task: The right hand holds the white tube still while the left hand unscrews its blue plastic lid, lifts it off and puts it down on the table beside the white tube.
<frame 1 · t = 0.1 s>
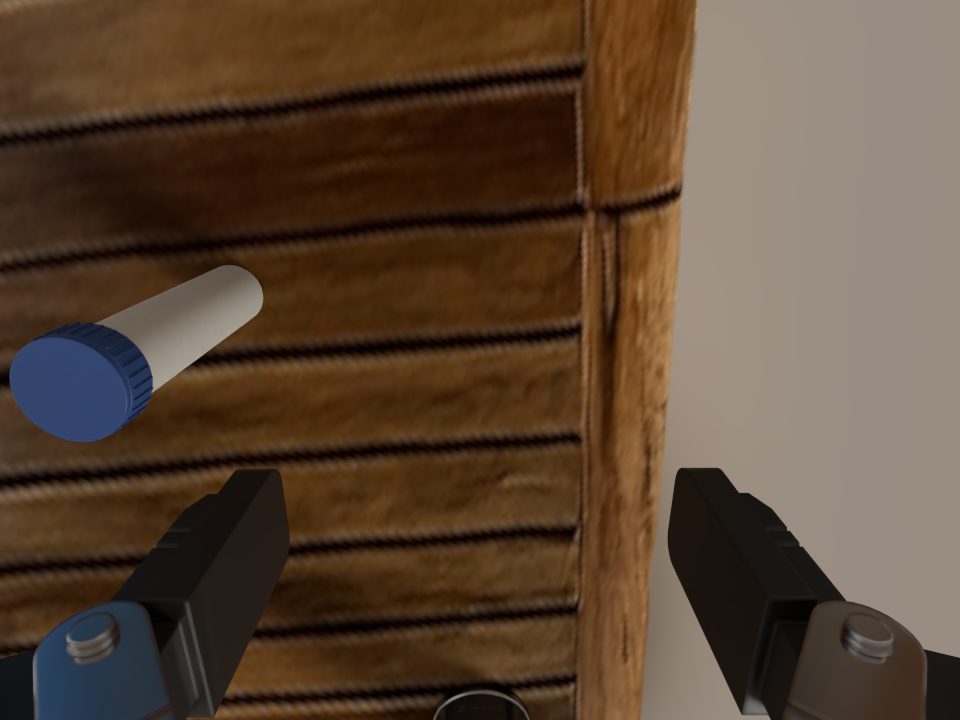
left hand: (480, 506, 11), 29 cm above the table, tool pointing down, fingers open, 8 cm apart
lid: (74, 388, 24), point 17 cm above the table, screwed on, not yet turned
white tube: (234, 293, 40), on the table
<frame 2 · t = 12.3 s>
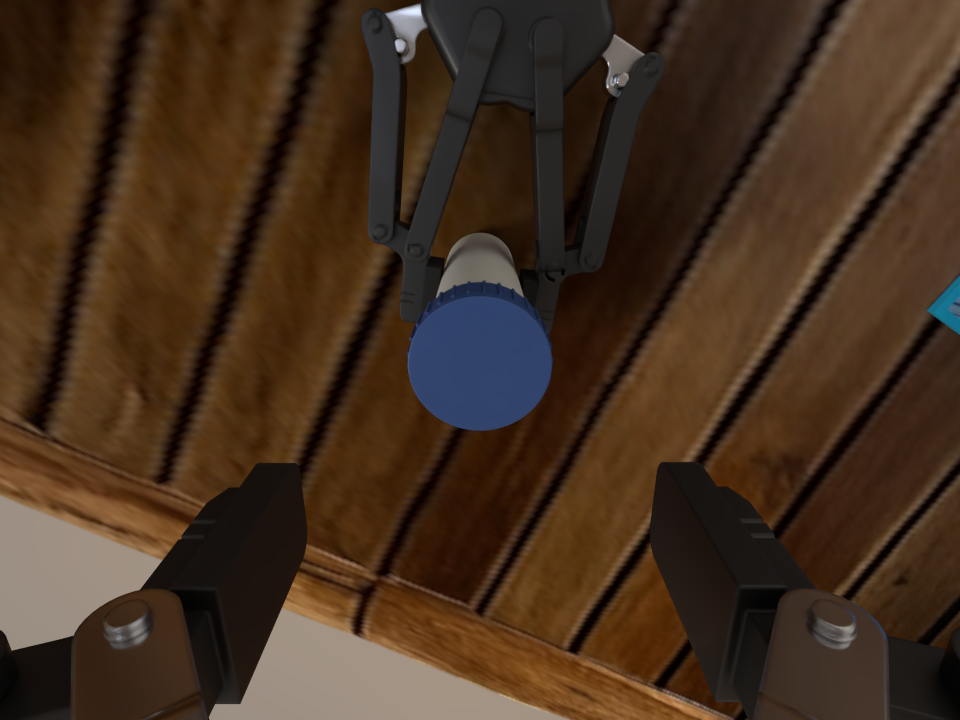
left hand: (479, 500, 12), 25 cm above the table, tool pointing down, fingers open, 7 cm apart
right hand: (466, 383, 31), fingers closed on white tube, 4 cm apart
lid: (480, 362, 19), point 17 cm above the table, screwed on, not yet turned
white tube: (480, 266, 35), on the table, touching right hand
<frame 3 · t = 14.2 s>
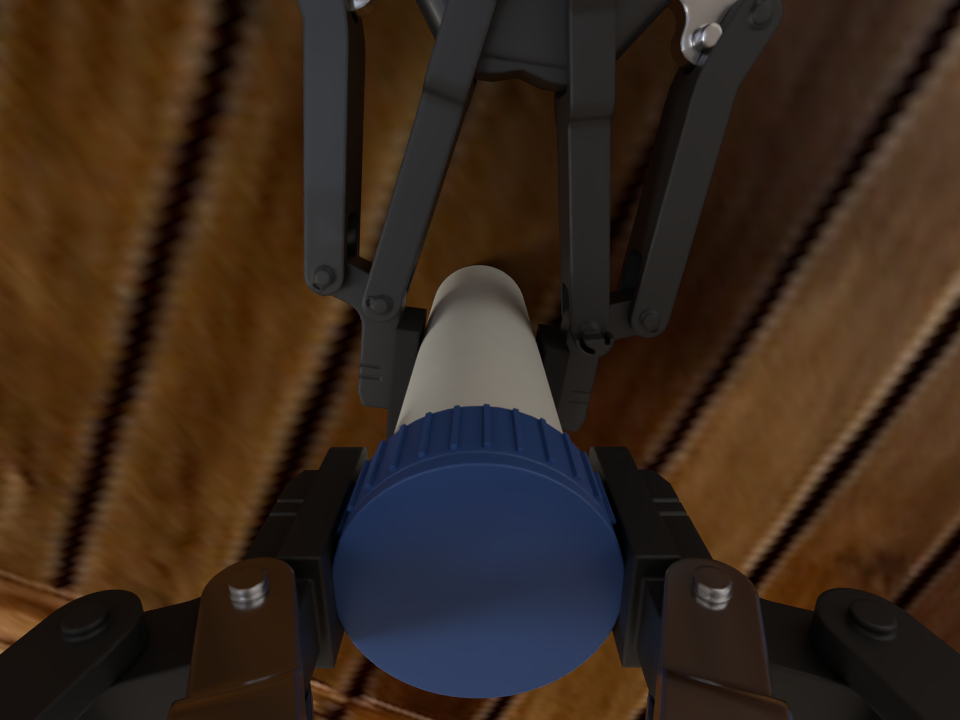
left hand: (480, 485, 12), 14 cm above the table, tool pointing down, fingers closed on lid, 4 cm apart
lid: (478, 577, 10), point 17 cm above the table, screwed on, not yet turned, touching left hand
white tube: (478, 310, 25), on the table, touching right hand
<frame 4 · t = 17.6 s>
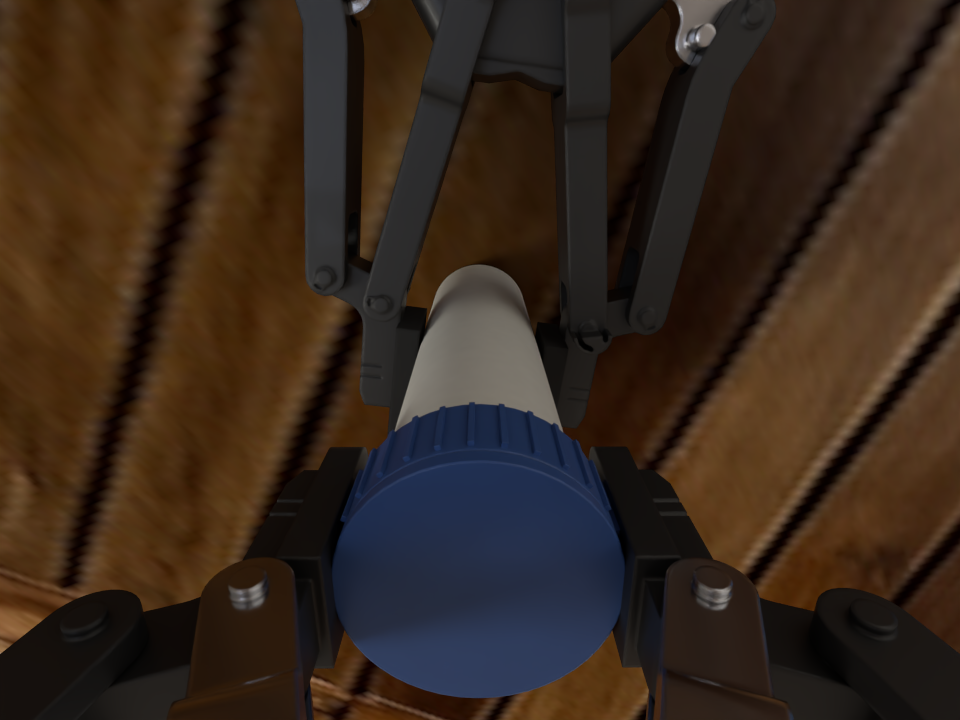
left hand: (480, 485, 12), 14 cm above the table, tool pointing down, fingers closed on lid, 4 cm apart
lid: (478, 575, 10), point 17 cm above the table, turned 68° so far, risen 0.2 cm, still on its thread, touching left hand
white tube: (478, 309, 25), on the table, touching right hand
when the left hand's fingers open (0 cm above the table, at t = 24.2 s): lid drops 1 cm, point 2 cm above the table.
when the right hand's fingers open (6 cm above the table, at t = 25.0 s): white tube stays where it is, on the table.
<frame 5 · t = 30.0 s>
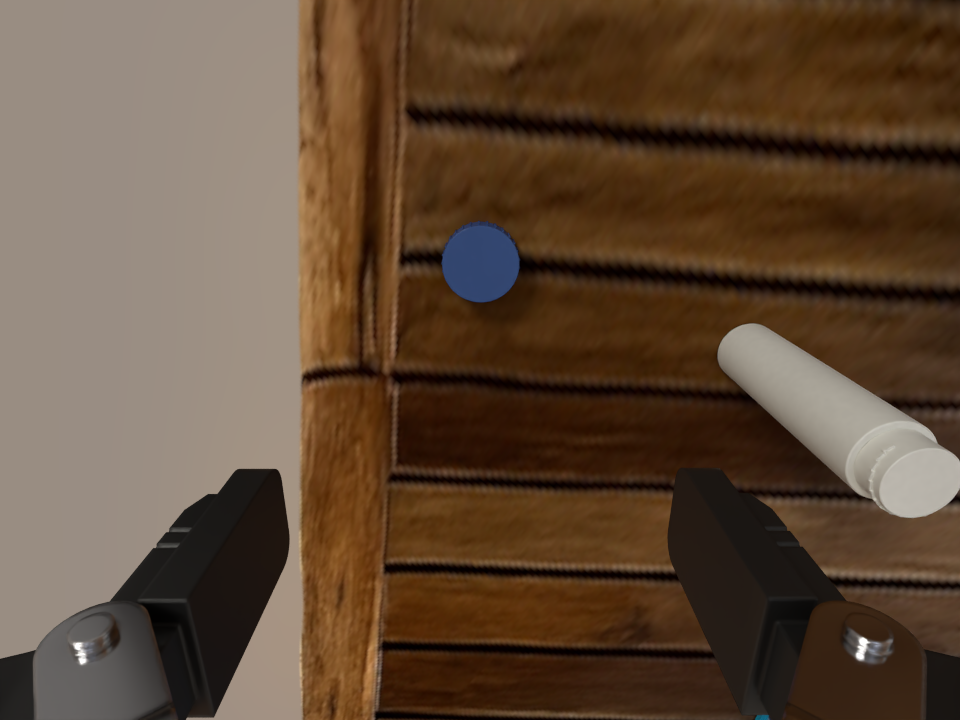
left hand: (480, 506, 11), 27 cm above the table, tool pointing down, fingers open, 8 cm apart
lid: (480, 264, 36), point 2 cm above the table, off its thread
white tube: (746, 351, 39), on the table
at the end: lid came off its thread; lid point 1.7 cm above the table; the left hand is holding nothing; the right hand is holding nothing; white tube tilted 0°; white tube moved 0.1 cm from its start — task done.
